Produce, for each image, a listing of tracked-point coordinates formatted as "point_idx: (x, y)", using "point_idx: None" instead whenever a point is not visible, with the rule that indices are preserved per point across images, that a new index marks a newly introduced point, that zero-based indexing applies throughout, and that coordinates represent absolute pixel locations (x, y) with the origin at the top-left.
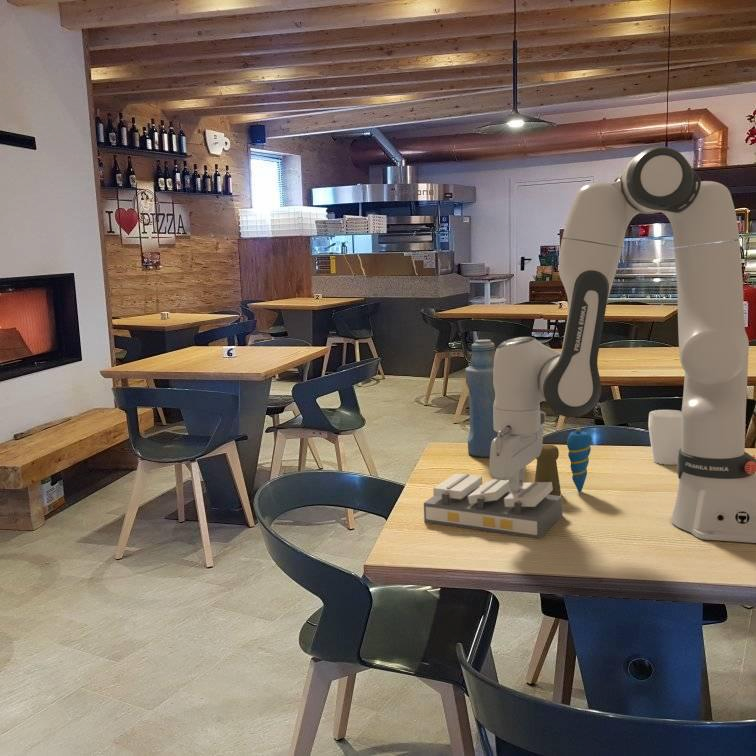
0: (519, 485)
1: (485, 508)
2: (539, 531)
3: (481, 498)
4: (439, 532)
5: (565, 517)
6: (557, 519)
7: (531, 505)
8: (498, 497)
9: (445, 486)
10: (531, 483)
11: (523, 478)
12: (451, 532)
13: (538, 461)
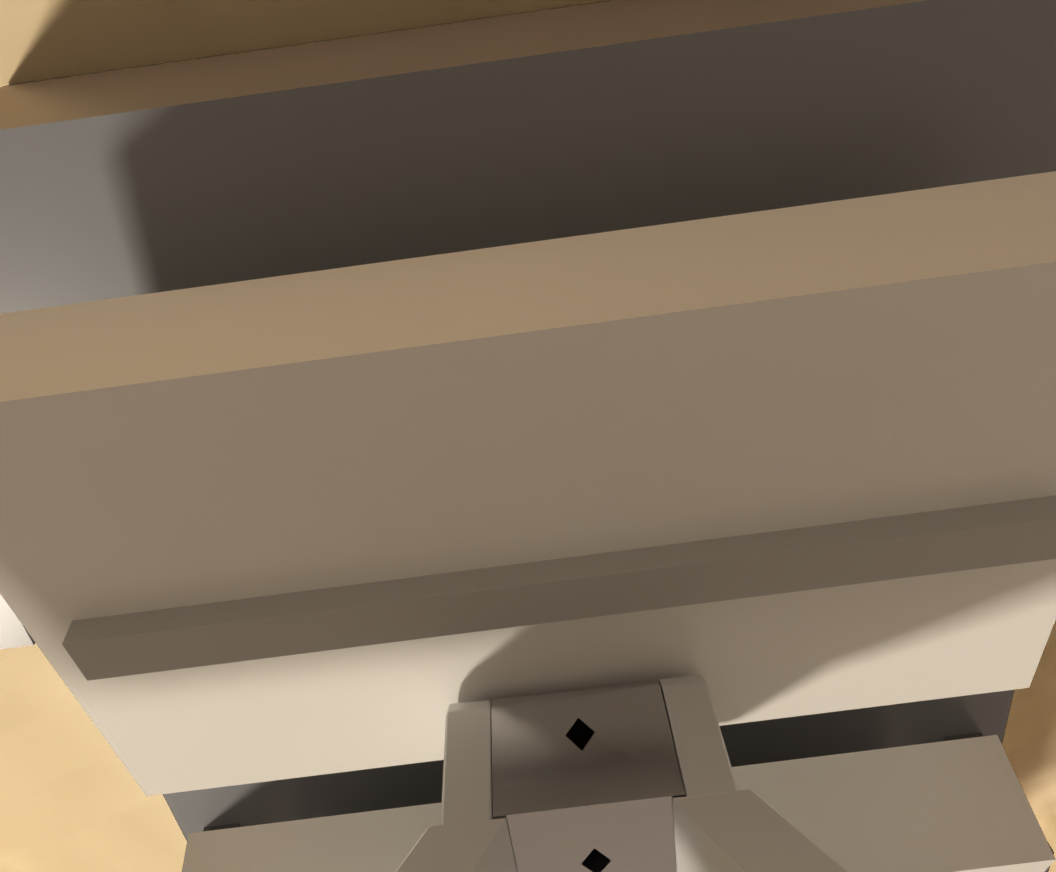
0: (657, 747)
1: (925, 736)
2: None
3: None
4: (1043, 781)
5: (40, 7)
6: (223, 56)
7: None
8: (943, 759)
9: None
10: (144, 692)
11: (441, 840)
12: (1021, 726)
13: None
